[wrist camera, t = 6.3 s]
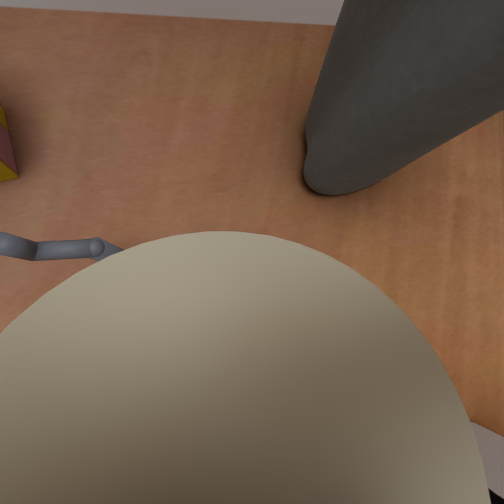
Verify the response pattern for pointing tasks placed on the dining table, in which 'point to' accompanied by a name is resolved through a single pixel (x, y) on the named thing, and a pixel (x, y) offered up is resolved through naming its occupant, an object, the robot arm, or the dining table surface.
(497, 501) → the robot arm
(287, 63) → the dining table surface
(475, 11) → the vase
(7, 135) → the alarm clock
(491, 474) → the cylindrical container
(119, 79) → the dining table surface
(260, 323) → the disc
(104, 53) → the dining table surface
